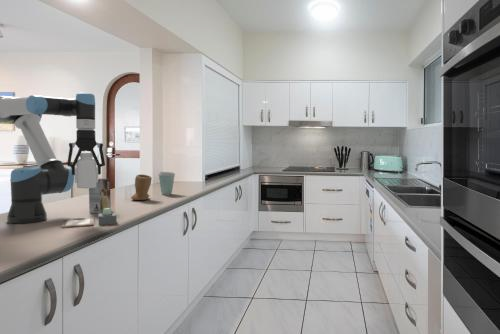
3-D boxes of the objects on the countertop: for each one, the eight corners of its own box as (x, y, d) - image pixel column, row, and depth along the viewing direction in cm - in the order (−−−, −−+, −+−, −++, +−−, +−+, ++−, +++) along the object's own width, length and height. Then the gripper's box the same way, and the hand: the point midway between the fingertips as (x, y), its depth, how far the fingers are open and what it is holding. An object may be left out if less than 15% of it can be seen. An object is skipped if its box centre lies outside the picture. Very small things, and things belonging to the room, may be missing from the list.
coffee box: (99, 209, 204) (99, 178, 203) (111, 210, 202) (110, 178, 201) (88, 213, 195) (88, 180, 194) (100, 213, 193) (100, 180, 192)
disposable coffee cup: (170, 192, 272) (169, 170, 272) (178, 194, 264) (177, 171, 263) (155, 194, 266) (155, 171, 265) (163, 195, 257) (163, 172, 257)
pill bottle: (76, 188, 169) (75, 153, 168) (77, 186, 177) (77, 152, 176) (96, 188, 172) (96, 153, 171) (96, 186, 180) (96, 152, 178)
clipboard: (61, 228, 161) (61, 225, 161) (63, 221, 174) (63, 218, 174) (93, 225, 165) (93, 223, 165) (93, 219, 178) (93, 217, 178)
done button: (103, 217, 169) (103, 209, 169) (103, 216, 172) (103, 208, 172) (111, 217, 171) (111, 209, 170) (111, 216, 174) (111, 208, 173)
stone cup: (150, 201, 234) (149, 175, 233) (129, 201, 233) (128, 175, 232) (154, 197, 249) (153, 173, 248) (134, 197, 248) (134, 173, 247)
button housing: (98, 224, 167) (98, 216, 167) (98, 221, 174) (98, 213, 173) (116, 223, 170) (116, 215, 169) (115, 220, 176) (115, 212, 176)
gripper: (59, 128, 165) (60, 184, 166) (112, 130, 174) (112, 182, 175) (59, 129, 172) (60, 182, 173) (110, 130, 180) (110, 180, 182)
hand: (86, 182), depth 174 cm, fingers closed on pill bottle, 8 cm apart
